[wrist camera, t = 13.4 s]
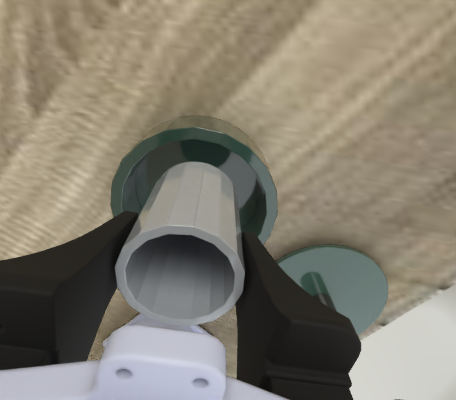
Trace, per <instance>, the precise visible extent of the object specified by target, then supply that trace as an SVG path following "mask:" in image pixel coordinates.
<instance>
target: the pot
mask: <svg viewBox="0 0 456 400" xmlns="http://www.w3.org/2000/svg"><path fill="white" fill-rule="evenodd" d="M185 162H203V163H207V164H210V165H212V166H214V167H216V168H218V169H220V170H221V171H222V172H224V173H225V174H226V175H227V176H228V178H229V179H230V180H231V182H232V183H233V185H234V187H235V190H236V194H237V198H238V205H239V215H240V226H241V236H242V232H243V231H245V232H251V233H255V234H256V235H257V237H258V238H259V240H260V241H261V243H262V244H264V243H265V242H266V240H267V239H268V238H269V236H270V235H271V232H272V229H273V226H274V223H275V220H276V217H277V191H276V187H275V185H274V182H273V179H272V177H271V174H270V171H269V169H268V166H267V164H266V162H265V159H264V157H263V154H262V152H261V151H260V150H259V148H258V147H257V146H256V144H255V143H254V142H253V141H252V140H251V139H250V138H249V137H248V135H246V134H245V133H244V132H243V131H241V130H240V129H239V128H237V127H235V126H233V125H232V124H230V123H227V122H225V121H222V120H220V119H216V118H212V117H206V116H186V117H179V118H176V119H172V120H169V121H167V122H165V123H163V124H160V125H159V126H157V127H155V128H153V129H152V130H151V131H150V132H149V133H148V134H147V135H146V136H145V137H144V138H143V139H142V140H141V141H140V142H139V143H138V144H137V145H136V146H135V147H134V148H133V149H132V150H131V151H130V152H129V153H128V154H127V155H126V156H125V157H124V158H123V159H122V161H121V163H120V165H119V167H118V170H117V172H116V174H115V176H114V179H113V181H112V186H111V209H112V212H113V216H114V217H115V216H117V215H119V214H120V213H122V212H123V211H131V212H137V213H138V217H139V215H140V213H141V211H142V209H143V207H144V205H145V204H146V202H147V200H148V198H149V196H150V194H151V192H152V190H153V188H154V186H155V184H156V183H157V181H158V180H159V179H160V177H161V176H162V175H163V174H164V173H165V172H166V171H167V170H168V169H170V168H172V167H173V166H175V165H178V164H181V163H185Z"/></svg>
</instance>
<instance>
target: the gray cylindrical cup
mask: <svg viewBox="0 0 456 400" xmlns="http://www.w3.org/2000/svg"><path fill="white" fill-rule="evenodd" d="M115 274H116V282H117V287H118V289H119V291H120V292H121V294H122V295H123V297H124V298H125V300H126V301H127V303H128V304H129V305H130V306H131V307H132V308H134V309H135V310H137V311H138V312H139V313H141V314H142V315H144V316H145V317H147V318H149V319H152V320H155V321H158V322H161V323H164V324H167V325H179V326H194V325H198V324H202V323H206V322H210V321H213V320H215V319H217V318H218V317H220V316H222V315H223V314H225V313H226V312H228V311H229V310H231V308H233V306H234V305H235V303H236V302H237V300H238V299H239V297H240V296H241V294H242V292H243V287H244V278H245V268H244V258H243V247H242V237H241V226H240V215H239V205H238V198H237V194H236V190H235V187H234V185H233V183H232V182H231V180H230V179H229V178H228V176H227V175H226V174H225V173H224V172H222V171H221V170H220V169H218V168H216V167H214V166H212V165H210V164H207V163H203V162H185V163H181V164H178V165H175V166H173V167H172V168H170V169H168V170H167V171H166V172H165V173H164V174H163V175H162V176H161V177H160V179H159V180H158V181H157V183H156V184H155V186H154V188H153V190H152V192H151V194H150V196H149V198H148V200H147V202H146V204H145V205H144V207H143V209H142V211H141V213H140V215H139V217H138V219H137V221H136V223H135V225H134V227H133V228H132V230H131V232H130V234H129V236H128V238H127V240H126V242H125V244H124V246H123V248H122V250H121V252H120V255H119V257H118V260H117V262H116V265H115Z"/></svg>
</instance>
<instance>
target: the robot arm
mask: <svg viewBox="0 0 456 400" xmlns="http://www.w3.org/2000/svg"><path fill="white" fill-rule="evenodd" d="M137 219H138V213H137V212H131V211H123V212H122V213H120V214H119V215H117V216H115V217H114V218H112V219H111V220H109V221H108V222H106V223H104V224H103V225H101V226H99V227H98V228H96V229H94V230H92V231H90V232H88V233H87V234H85V235H83V236H81V237H79V238H76V239H74V240H72V241H69V242H67V243H65V244H62V245H59V246H56V247H53V248H50V249H47V250H44V251H41V252H38V253H34V254H30V255H26V256H22V257H17V258H12V259H7V260H1V261H0V400H353V398H352V395H351V393H350V390H349V388H350V387H351V386H352V383H351V380H350V377H349V375H348V373H349V372H350V370H351V368H352V367H353V365H354V363H355V362H356V360H357V358H358V357H359V354H360V352H361V342H360V340H359V337H358V335H357V333H356V331H355V328H354V326H353V324H352V323H351V321H350V319H349V318H347V317H346V316H344V315H342V314H340V313H338V312H337V311H335V310H333V309H331V308H330V307H328V306H326V305H325V304H323V303H322V302H320V301H319V300H317V299H316V298H315V297H313V296H312V295H310V294H309V293H308V292H307V291H305V290H304V289H303V288H302V287H300V286H299V285H298V284H297V283H296V282H295V281H294V280H293V279H292V278H291V277H289V276H288V275H287V274H286V273H285V271H284V270H283V269H282V268H281V267H280V266H279V265H278V264H277V262H276V261H275V260H274V259H273V258H272V256H271V255H270V254H269V252H268V251H267V250H266V248H265V247H264V245H263V244H262V243H261V241H260V240H259V238H258V237H257V235H256V234H255V233H251V232H245V231H243V232H242V236H241V237H242V247H243V258H244V268H245V278H244V287H243V292H242V294H241V296H240V297H239V299H238V300H237V302H236V303H235V305H236V314H237V327H238V349H237V379H235V378H232V377H230V376H227V375H226V349H225V346H224V345H223V344H222V343H221V342H220V341H219V340H218V339H217V338H215V337H213V336H212V335H210V334H209V333H208V332H206V331H205V330H204V329H202V328H201V327H200V326H198V325H194V326H179V325H167V324H164V323H161V322H158V321H155V320H152V319H149V318H147V317H145V316H144V315H142V314H141V313H140V314H139V315H137V316H136V317H135V318H133V319H132V320H131V321H129V322H128V323H127V324H125V325H124V326H122V327H121V328H119V329H117V330H115V331H113V332H112V333H111V335H110V336H109V337H108V338H106V339H105V340H104V341H103V343H102V345H103V347H105V349H104V352H103V354H102V357H101V359H100V360H92V361H87V358H88V355H89V353H90V350H91V347H92V344H93V342H94V339H95V336H96V334H97V331H98V328H99V326H100V323H101V321H102V318H103V316H104V313H105V311H106V309H107V306H108V304H109V302H110V300H111V298H112V296H113V294H114V293H115V291H116V289H117V282H116V274H115V265H116V262H117V260H118V257H119V255H120V252H121V250H122V248H123V246H124V244H125V242H126V240H127V238H128V236H129V234H130V232H131V230H132V228H133V227H134V225H135V223H136V221H137ZM396 400H400V399H396Z"/></svg>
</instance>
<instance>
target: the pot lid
mask: <svg viewBox="0 0 456 400" xmlns="http://www.w3.org/2000/svg"><path fill="white" fill-rule="evenodd" d="M276 262H277V264H278V265H279V266H280V267H281V268H282V269H283V270H284V271H285V273H286V274H287V275H288V276H289V277H291V278H292V279H293V280H294V281H295V282H296V283H297V284H298V285H299V286H300V287H302V288H303V289H304V290H305V291H307V292H308V293H309V294H310V295H312V296H313V297H315V298H316V299H317V300H319V301H320V302H322V303H323V304H325V305H326V306H328V307H330V308H331V309H333V310H335V311H337V312H338V313H340V314H342V315H344V316H346V317H347V318H349V319H350V321H351V323H352V324H353V326H354V328H355V331H356V333H357V335H359V334H360V333H362V332H363V331H365V330H366V329H367V328H369V327H370V326H371V325H372V324H373V323H374V322H375V321H376V319H377V318H378V317H379V316H380V314H381V313H382V311H383V309H384V307H385V305H386V301H387V298H388V283H387V279H386V277H385V274H384V272H383V271H382V269H381V268H380V266H379V265H378V264H377V263H376V262H375V261H374V260H373V259H372V258H371V257H369V256H368V255H367V254H365V253H363V252H361V251H359V250H357V249H354V248H351V247H347V246H342V245H316V246H310V247H306V248H302V249H300V250H297V251H294V252H292V253H290V254H288V255H286V256H284V257H282V258H281V259H279V260H278V261H276Z"/></svg>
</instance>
